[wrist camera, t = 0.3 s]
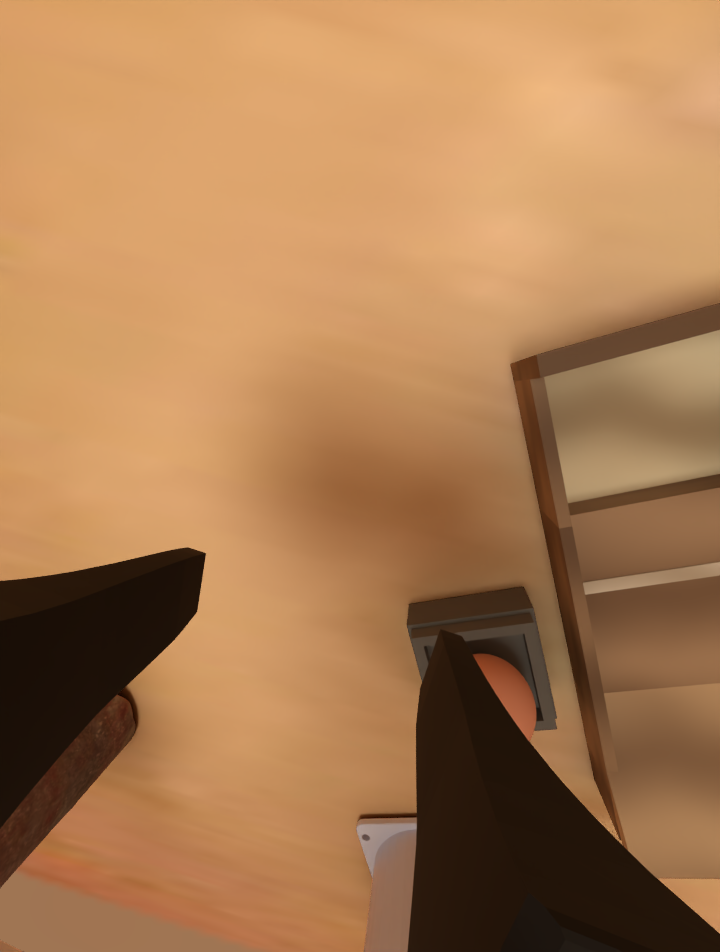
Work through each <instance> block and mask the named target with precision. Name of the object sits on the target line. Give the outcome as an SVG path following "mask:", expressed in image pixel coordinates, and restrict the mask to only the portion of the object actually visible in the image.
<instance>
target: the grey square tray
mask: <svg viewBox="0 0 720 952" xmlns="http://www.w3.org/2000/svg"><path fill="white" fill-rule="evenodd" d="M407 628H408V632H409V636H410V639H411V643H412V647H413V650H414V654H415V657H416V661H417V665H418V668H419V672H420V676H421V679H422V682H423V679H424V676H425V673H426V670H427V667H428V664H429V661H430V658H431V655H432V652H433V649H434V646H435V643H436V640H437V637H438V634H439V631H440V629H442V630H445V631H448V632H451V633H454V634H457V635H460V636H462V637H463V639H464V640H465V642H466V644H467V646H468V647H469V649H470V651H471V653H472V654H479V653H482V654H490V655H494V656H497V657H499V658H502V659H503V660H505V661H507V662H508V663H510V664H511V665H513V666H514V667H515V668H516V669H517V670H518V671H519V672H520V673H521V675H522V676H523V677H524V679H525V680H526V682H527V683H528V685H529V687H530V689H531V691H532V694H533V697H534V700H535V705H536V725H535V729H534V731H539V730H553V729H557V726H556V722H555V719H557V716H556V711H555V707H554V702H553V697H552V693H551V688H550V683H549V679H548V674H547V669H546V665H545V660H544V655H543V651H542V646H541V641H540V637H539V632H538V627H537V623H536V618H535V613H534V609H533V606H532V604H531V602H530V600H529V598H528V596H527V593H526V591H525V589H524V587H519V588H513V589H506V590H500V591H493V592H487V593H480V594H474V595H467V596H460V597H454V598H447V599H441V600H434V601H428V602H421V603H415V604H409V609H408V619H407Z"/></svg>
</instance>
